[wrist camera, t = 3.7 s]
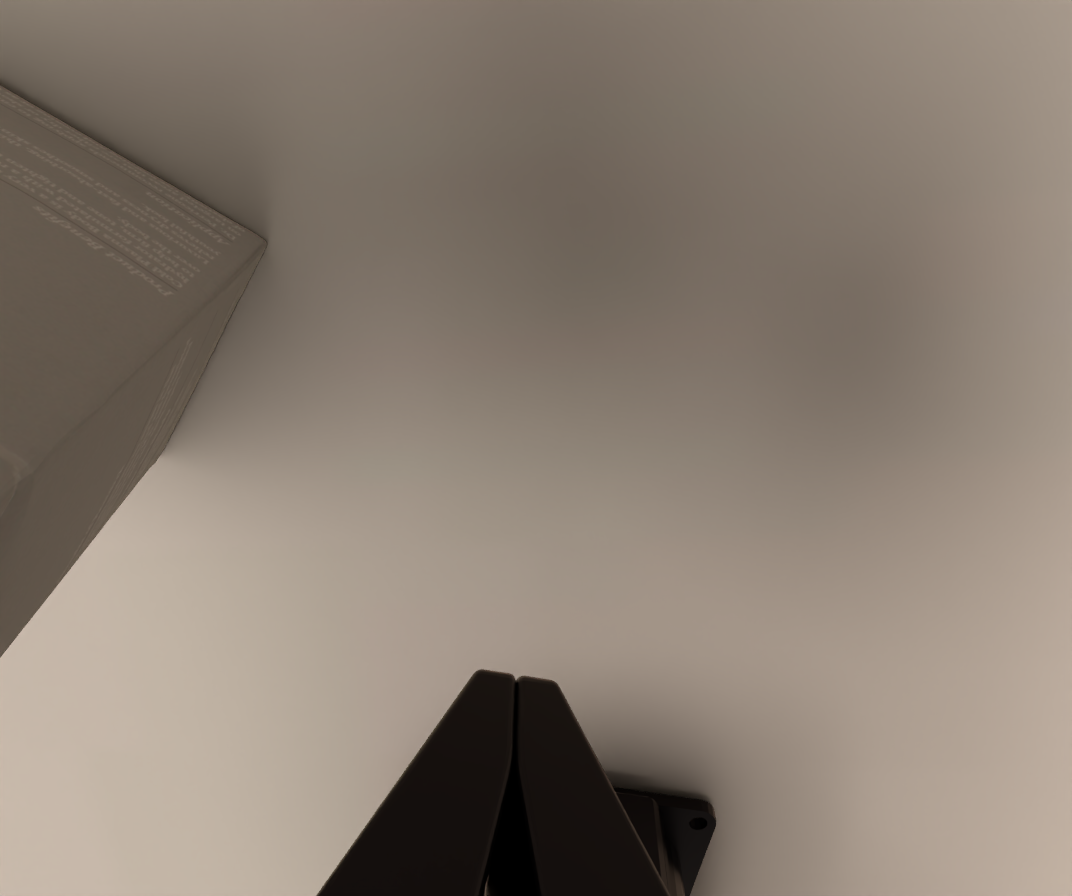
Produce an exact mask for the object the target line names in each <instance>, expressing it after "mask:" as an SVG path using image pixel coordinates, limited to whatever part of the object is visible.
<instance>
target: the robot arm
mask: <svg viewBox="0 0 1072 896" xmlns="http://www.w3.org/2000/svg"><path fill="white" fill-rule="evenodd" d="M696 817H700V818H696ZM715 827H716V818H715V812H714V808H713V806H712V805H711V804H710V803H708V802H707V801H704V800H699V799H692V798H685V797H678V796H671V795H664V794H657V793H650V792H642V791H635V790H628V789H621V788H614V787H612V785H611V783H610V781H609V780H608V778H607V776H606V774H605V772H604V770H603V768H602V766H601V764H600V763H599V761H598V759H597V757H596V755H595V753H594V751H593V749H592V748H591V746H590V744H589V742H588V740H587V738H586V736H585V734H584V732H583V731H582V729H581V727H580V725H579V723H578V721H577V719H576V717H575V716H574V714H573V712H572V710H571V708H570V706H569V704H568V702H567V700H566V699H565V697H564V695H563V693H562V691H561V689H560V687H559V686H558V684H557V683H556V682H554V681H552V680H548V679H541V678H535V677H529V676H521V677H519V678H518V679H517V680H515V677H514V676H513V675H512V674H509V673H503V672H497V671H490V670H484V669H480V670H478V671H476V672H475V673H474V674H473V675H472V677H471V678H470V680H469V681H468V682H467V684H466V685H465V687H464V688H463V689H462V691H461V692H460V694H459V695H458V697H457V698H456V699H455V701H454V702H453V704H452V705H451V706H450V708H449V709H448V711H447V712H446V713H445V715H444V716H443V718H442V719H441V721H440V722H439V723H438V725H437V726H436V728H435V729H434V730H433V732H432V733H431V735H430V736H429V737H428V739H427V740H426V742H425V743H424V745H423V746H422V747H421V749H420V750H419V752H418V753H417V754H416V756H415V757H414V759H413V760H412V761H411V763H410V764H409V766H408V767H407V768H406V770H405V771H404V773H403V774H402V776H401V777H400V778H399V780H398V781H397V783H396V784H395V785H394V787H393V788H392V790H391V791H390V792H389V794H388V795H387V797H386V798H385V800H384V801H383V802H382V804H381V805H380V807H379V808H378V809H377V811H376V812H375V814H374V815H373V816H372V818H371V819H370V821H369V822H368V823H367V825H366V826H365V828H364V829H363V831H362V832H361V833H360V835H359V836H358V838H357V839H356V840H355V842H354V843H353V845H352V846H351V847H350V849H349V850H348V852H347V853H346V855H345V856H344V857H343V859H342V860H341V862H340V863H339V864H338V866H337V867H336V869H335V870H334V871H333V873H332V874H331V876H330V877H329V879H328V880H327V881H326V883H325V884H324V886H323V887H322V888H321V890H320V891H319V893H318V894H317V895H316V896H689V895H690V893H691V890H692V887H693V885H694V882H695V880H696V877H697V874H698V872H699V869H700V866H701V864H702V861H703V858H704V856H705V853H706V850H707V848H708V845H709V843H710V840H711V837H712V835H713V832H714V829H715Z"/></svg>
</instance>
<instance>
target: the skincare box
mask: <svg viewBox="0 0 1072 896" xmlns="http://www.w3.org/2000/svg"><path fill="white" fill-rule="evenodd" d="M266 246H267V243H266V242H265V240H264V239H262V238H261V237H259V236H258V235H256V234H255V233H253V232H252V231H250V230H248V229H246V228H245V227H243V226H241V225H239V224H238V223H236V222H234V221H232V220H231V219H229V218H227V217H225V216H224V215H222V214H220V213H218V212H217V211H215V210H213V209H212V208H210V207H208V206H207V205H205V204H203V203H201V202H200V201H198V200H196V199H195V198H193V197H191V196H190V195H188V194H186V193H184V192H183V191H181V190H179V189H177V188H176V187H174V186H172V185H171V184H169V183H167V182H165V181H164V180H162V179H160V178H158V177H157V176H155V175H153V174H152V173H150V172H148V171H146V170H145V169H143V168H141V167H139V166H138V165H136V164H134V163H133V162H131V161H129V160H127V159H126V158H124V157H122V156H120V155H119V154H117V153H115V152H114V151H112V150H110V149H108V148H107V147H105V146H103V145H102V144H100V143H98V142H96V141H95V140H93V139H91V138H90V137H88V136H86V135H85V134H83V133H81V132H79V131H78V130H76V129H74V128H73V127H71V126H69V125H67V124H66V123H64V122H62V121H61V120H59V119H57V118H55V117H54V116H52V115H50V114H49V113H47V112H45V111H44V110H42V109H40V108H38V107H37V106H35V105H33V104H32V103H30V102H28V101H26V100H25V99H23V98H21V97H19V96H18V95H16V94H14V93H12V92H11V91H9V90H7V89H6V88H4V87H2V86H0V657H1V656H2V655H3V653H4V652H5V651H6V650H7V648H8V647H9V646H10V645H11V643H12V642H13V641H14V639H15V638H16V637H17V636H18V634H19V633H20V632H21V631H22V629H23V628H24V627H25V626H26V624H27V623H28V622H29V620H30V619H31V618H32V617H33V615H34V614H35V613H36V612H37V610H38V609H39V608H40V607H41V605H42V604H43V603H44V602H45V600H46V599H47V598H48V596H49V595H50V594H51V593H52V591H53V590H54V589H55V588H56V586H57V585H58V584H59V583H60V581H61V580H62V579H63V577H64V576H65V575H66V574H67V572H68V571H69V570H70V569H71V567H72V566H73V565H74V563H75V562H76V561H77V560H78V558H79V557H80V556H81V554H82V553H83V552H84V551H85V549H86V548H87V547H88V546H89V544H90V543H91V542H92V540H93V539H94V538H95V537H96V535H97V534H98V533H99V531H100V530H101V529H102V528H103V526H104V525H105V524H106V522H107V521H108V520H109V518H110V517H111V516H112V515H113V513H114V512H115V511H116V510H117V509H118V507H119V506H120V505H121V504H122V502H123V501H124V500H125V498H126V497H127V496H128V495H129V493H130V492H131V491H132V490H133V488H134V487H135V486H136V484H137V483H138V482H139V481H140V479H141V478H142V477H143V476H144V474H145V473H146V472H147V471H148V469H149V468H150V467H151V466H152V465H153V464H154V463H155V462H156V461H157V459H158V458H159V456H160V455H161V453H162V451H163V450H164V448H165V446H166V444H167V442H168V440H169V438H170V436H171V434H172V432H173V430H174V428H175V426H176V424H177V422H178V420H179V418H180V416H181V414H182V412H183V410H184V408H185V406H186V404H187V402H188V401H189V399H190V397H191V395H192V393H193V391H194V389H195V387H196V385H197V383H198V381H199V379H200V377H201V375H202V373H203V371H204V369H205V367H206V365H207V363H208V361H209V359H210V357H211V355H212V353H213V351H214V349H215V347H216V345H217V343H218V341H219V339H220V337H221V335H222V333H223V331H224V329H225V327H226V325H227V323H228V321H229V318H230V316H231V315H232V313H233V311H234V309H235V307H236V304H237V303H238V301H239V299H240V297H241V295H242V293H243V292H244V290H245V288H246V286H247V284H248V282H249V280H250V278H251V276H252V274H253V272H254V270H255V268H256V266H257V264H258V263H259V261H260V259H261V257H262V255H263V253H264V251H265V248H266Z"/></svg>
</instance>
